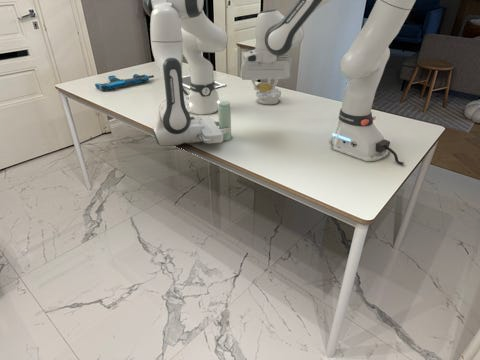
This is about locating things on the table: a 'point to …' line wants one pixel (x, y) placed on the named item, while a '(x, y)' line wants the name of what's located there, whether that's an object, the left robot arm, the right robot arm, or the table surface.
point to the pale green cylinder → (225, 118)
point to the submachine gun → (122, 82)
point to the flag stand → (268, 95)
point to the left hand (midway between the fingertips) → (227, 126)
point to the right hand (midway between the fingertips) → (264, 89)
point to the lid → (264, 86)
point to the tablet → (187, 80)
